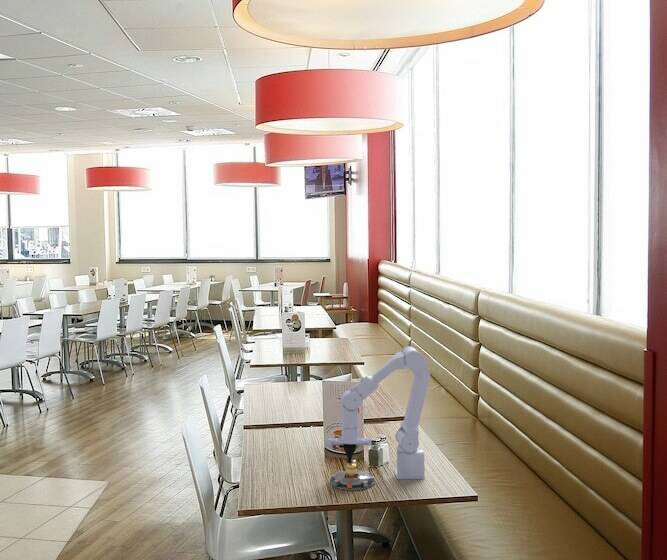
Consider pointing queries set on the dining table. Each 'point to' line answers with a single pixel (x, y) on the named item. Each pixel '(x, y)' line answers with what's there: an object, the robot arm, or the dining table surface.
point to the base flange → (352, 487)
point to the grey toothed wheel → (360, 479)
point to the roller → (351, 470)
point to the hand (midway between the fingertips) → (349, 465)
